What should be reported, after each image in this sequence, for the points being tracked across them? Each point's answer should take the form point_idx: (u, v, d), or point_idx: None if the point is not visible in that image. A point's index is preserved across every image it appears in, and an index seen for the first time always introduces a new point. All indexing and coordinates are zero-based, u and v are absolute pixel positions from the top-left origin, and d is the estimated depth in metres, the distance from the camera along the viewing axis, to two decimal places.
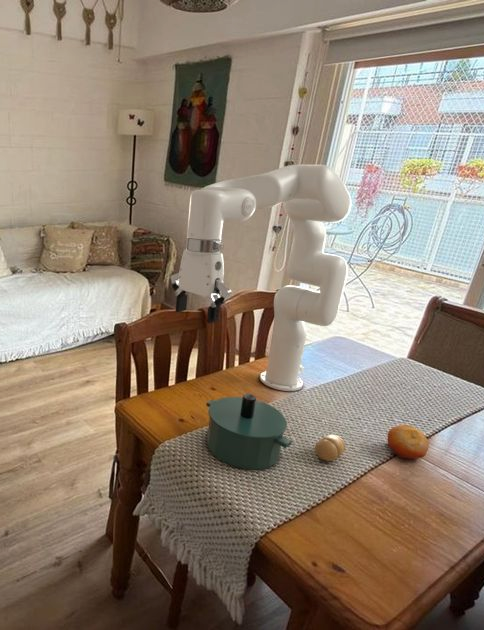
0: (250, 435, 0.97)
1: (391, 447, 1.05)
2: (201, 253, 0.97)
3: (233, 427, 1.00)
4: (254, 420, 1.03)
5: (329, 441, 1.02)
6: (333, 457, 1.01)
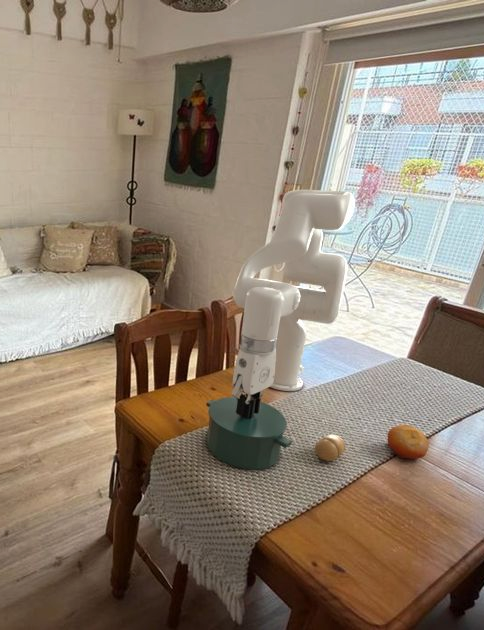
0: (250, 435, 0.97)
1: (391, 447, 1.05)
2: None
3: (233, 427, 1.00)
4: (254, 420, 1.03)
5: (329, 441, 1.02)
6: (333, 457, 1.01)
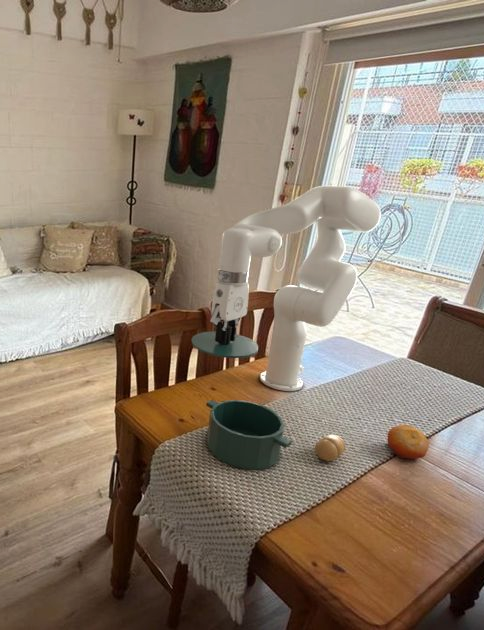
0: (226, 355, 1.13)
1: (391, 447, 1.05)
2: (217, 279, 1.16)
3: (212, 350, 1.16)
4: (230, 346, 1.19)
5: (329, 441, 1.02)
6: (333, 457, 1.01)
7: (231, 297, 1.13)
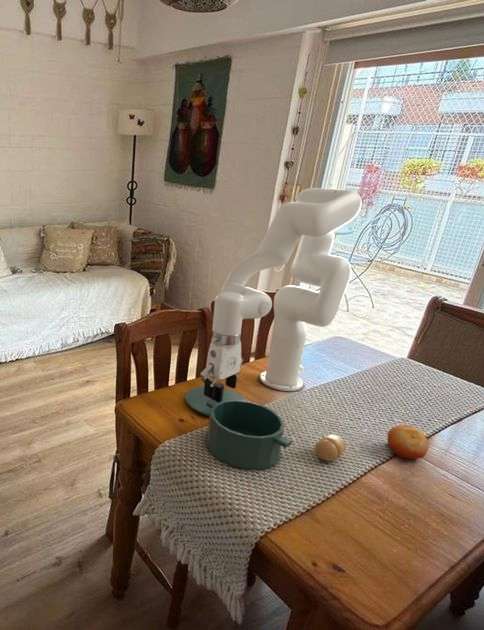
0: None
1: (391, 447, 1.05)
2: (211, 339, 1.22)
3: (204, 409, 1.22)
4: None
5: (329, 441, 1.02)
6: (333, 457, 1.01)
7: (224, 358, 1.18)
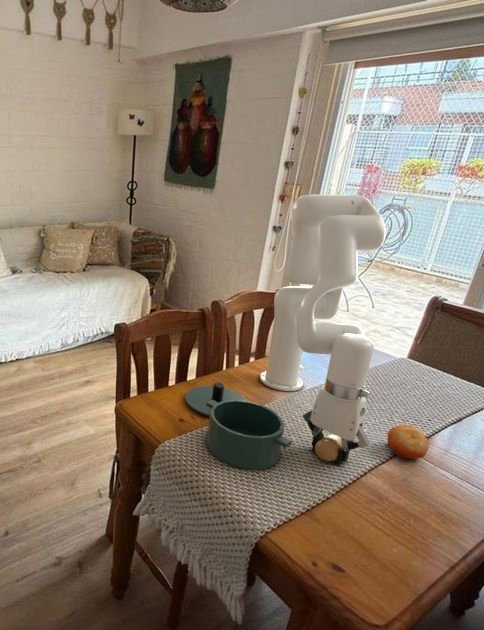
0: None
1: (391, 447, 1.05)
2: (346, 400, 0.96)
3: (204, 409, 1.22)
4: None
5: (329, 441, 1.02)
6: (333, 457, 1.01)
7: None
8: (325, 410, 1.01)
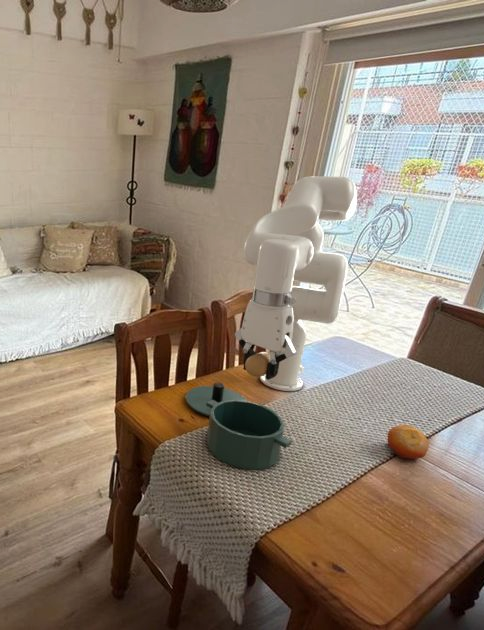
0: None
1: (391, 447, 1.05)
2: (271, 307, 0.92)
3: (204, 409, 1.22)
4: None
5: (258, 356, 0.98)
6: (262, 371, 0.97)
7: None
8: (253, 322, 0.97)
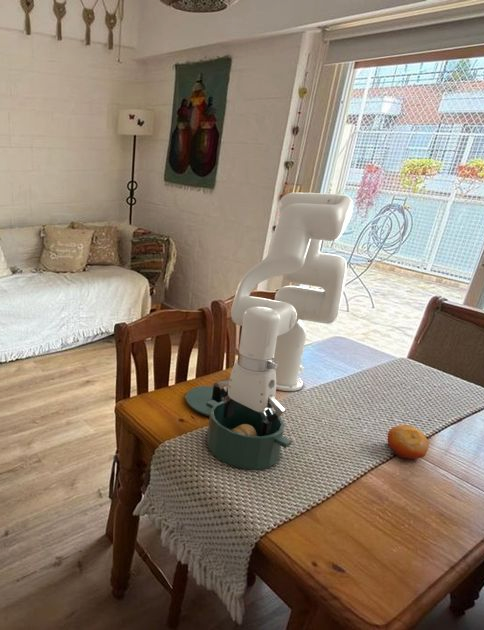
0: None
1: (391, 447, 1.05)
2: (255, 372, 0.97)
3: (204, 409, 1.22)
4: None
5: (238, 429, 1.06)
6: None
7: None
8: (238, 383, 1.02)
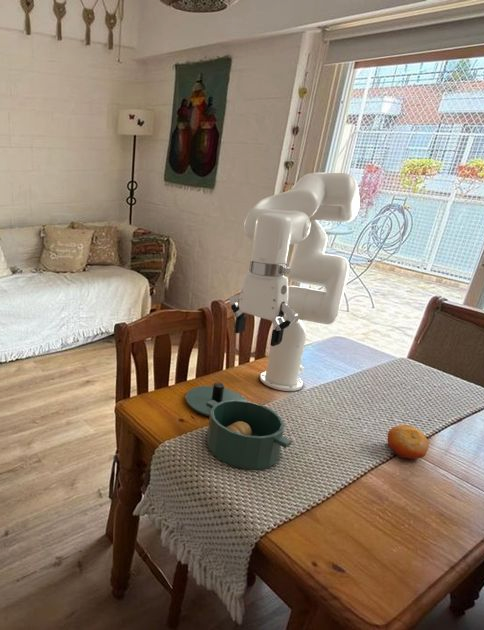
0: None
1: (391, 447, 1.05)
2: (267, 277, 0.97)
3: (204, 409, 1.22)
4: None
5: (229, 426, 1.08)
6: None
7: None
8: (250, 293, 1.02)
